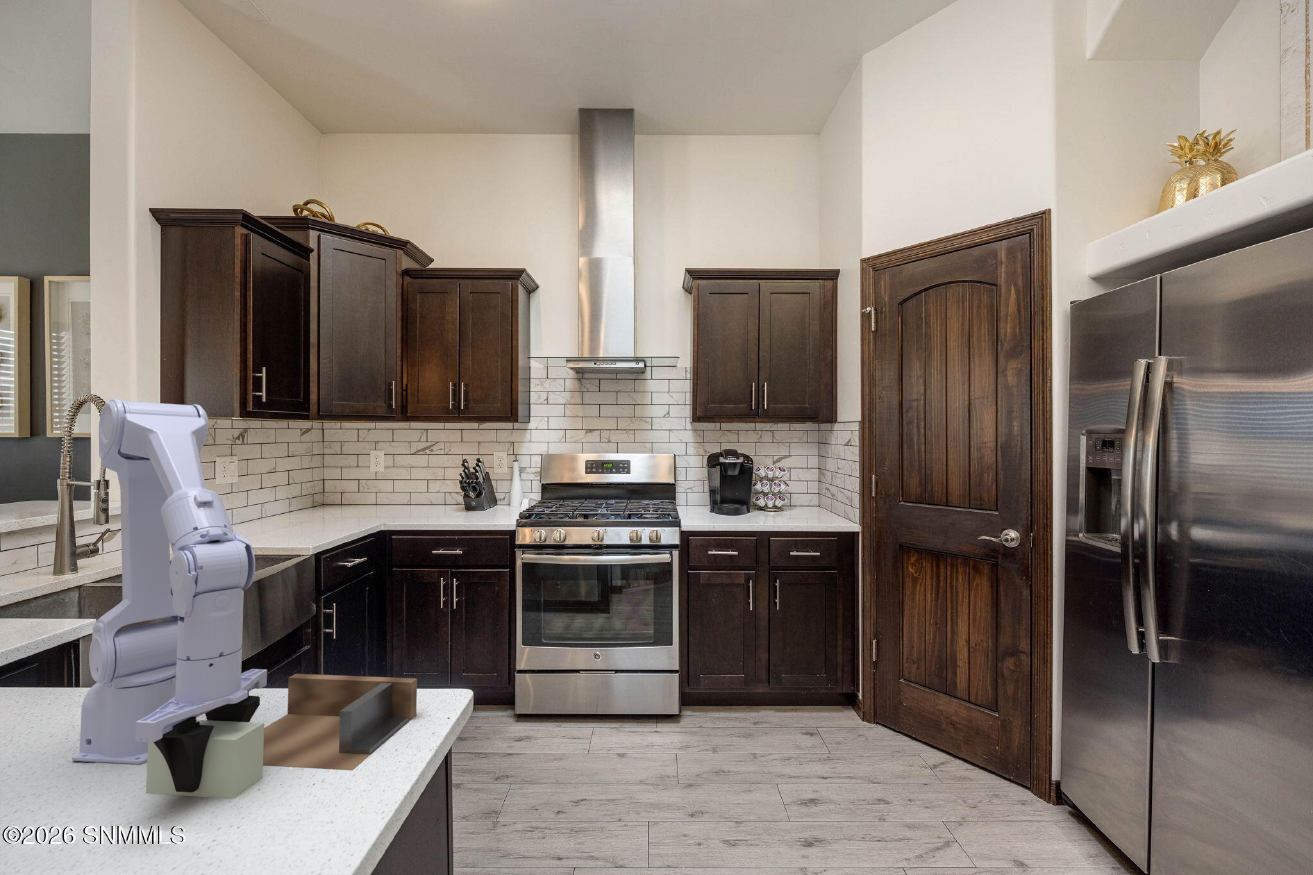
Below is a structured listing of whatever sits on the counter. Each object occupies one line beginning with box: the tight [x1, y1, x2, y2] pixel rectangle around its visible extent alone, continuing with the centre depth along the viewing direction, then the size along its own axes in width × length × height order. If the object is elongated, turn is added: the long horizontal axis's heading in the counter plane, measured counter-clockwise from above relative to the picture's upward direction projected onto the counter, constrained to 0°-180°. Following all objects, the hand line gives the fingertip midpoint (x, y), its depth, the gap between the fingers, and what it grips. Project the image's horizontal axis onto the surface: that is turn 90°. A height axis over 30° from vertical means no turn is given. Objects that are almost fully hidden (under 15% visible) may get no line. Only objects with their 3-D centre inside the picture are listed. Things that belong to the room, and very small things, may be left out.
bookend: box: [339, 683, 409, 756], centre depth 75 cm, size 4×9×5 cm, turn 175°
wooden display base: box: [263, 673, 418, 771], centre depth 75 cm, size 18×14×6 cm
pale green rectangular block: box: [145, 719, 265, 800], centre depth 64 cm, size 10×4×7 cm, turn 85°
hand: (205, 778), depth 63 cm, fingers closed on pale green rectangular block, 4 cm apart
